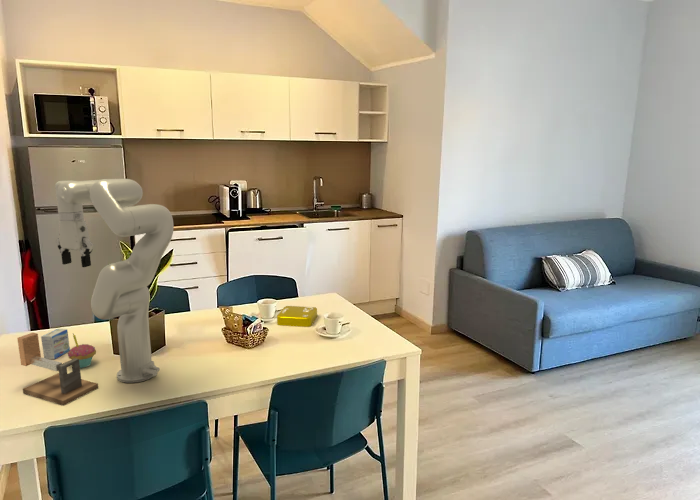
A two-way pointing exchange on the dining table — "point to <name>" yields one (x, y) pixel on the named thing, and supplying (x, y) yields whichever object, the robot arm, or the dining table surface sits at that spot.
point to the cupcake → (82, 353)
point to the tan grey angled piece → (34, 353)
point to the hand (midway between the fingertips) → (76, 265)
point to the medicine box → (55, 343)
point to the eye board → (55, 390)
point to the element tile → (297, 316)
